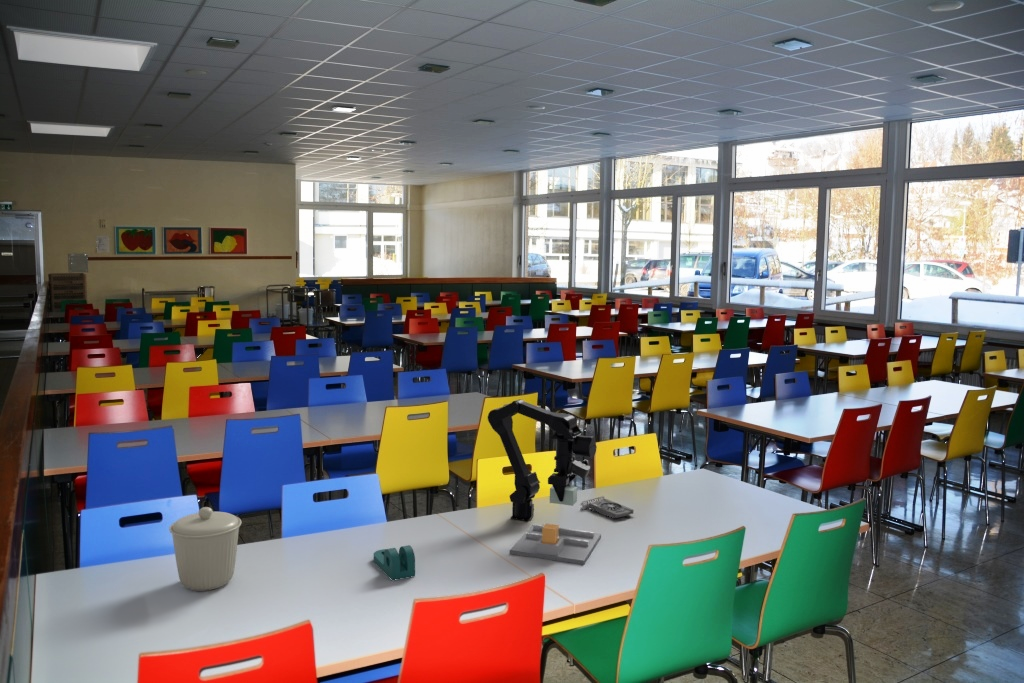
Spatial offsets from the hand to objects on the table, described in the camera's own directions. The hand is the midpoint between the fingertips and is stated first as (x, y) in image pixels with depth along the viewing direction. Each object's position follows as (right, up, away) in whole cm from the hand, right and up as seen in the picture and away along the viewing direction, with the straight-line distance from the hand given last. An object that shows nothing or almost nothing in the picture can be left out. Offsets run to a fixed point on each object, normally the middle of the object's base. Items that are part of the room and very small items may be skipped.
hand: (563, 498), depth 265 cm
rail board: (-3, -11, -16) cm, 20 cm away
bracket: (-52, -13, -37) cm, 64 cm away
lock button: (-6, -8, -25) cm, 27 cm away
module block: (0, -1, 0) cm, 1 cm away
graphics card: (+16, -9, +16) cm, 24 cm away
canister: (-99, -13, -50) cm, 112 cm away
